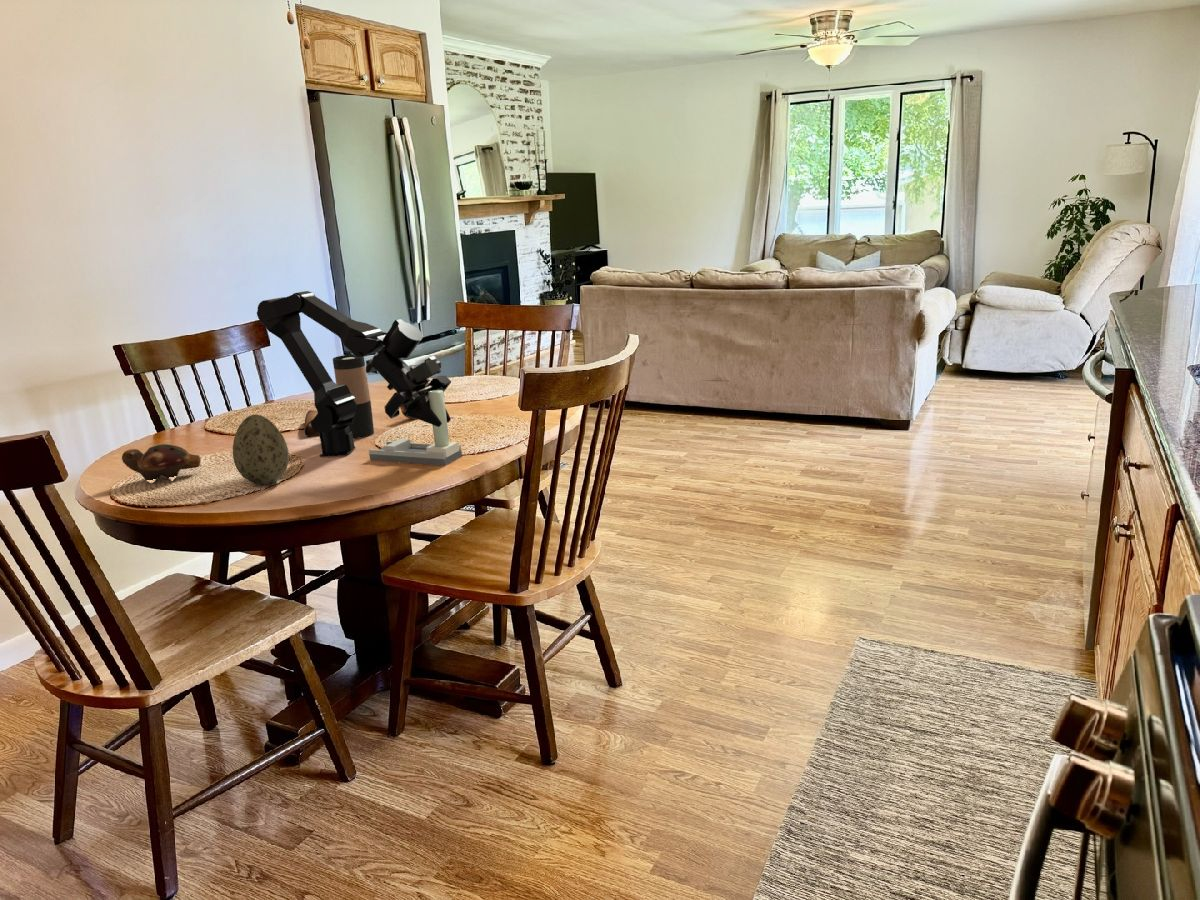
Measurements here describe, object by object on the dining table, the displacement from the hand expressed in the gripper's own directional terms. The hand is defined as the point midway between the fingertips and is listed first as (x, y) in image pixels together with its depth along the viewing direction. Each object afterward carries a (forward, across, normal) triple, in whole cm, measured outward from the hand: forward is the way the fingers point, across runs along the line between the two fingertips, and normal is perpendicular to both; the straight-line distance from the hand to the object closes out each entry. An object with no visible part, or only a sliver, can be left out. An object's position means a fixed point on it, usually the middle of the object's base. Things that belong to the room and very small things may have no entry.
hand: (445, 423), depth 180 cm
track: (0, 0, +12) cm, 12 cm away
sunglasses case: (-30, +19, +44) cm, 56 cm away
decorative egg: (-16, -22, +28) cm, 39 cm away
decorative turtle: (-35, -25, +47) cm, 64 cm away
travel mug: (-20, +15, +32) cm, 40 cm away
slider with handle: (+4, 0, +6) cm, 7 cm away
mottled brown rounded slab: (-16, +36, +28) cm, 49 cm away
